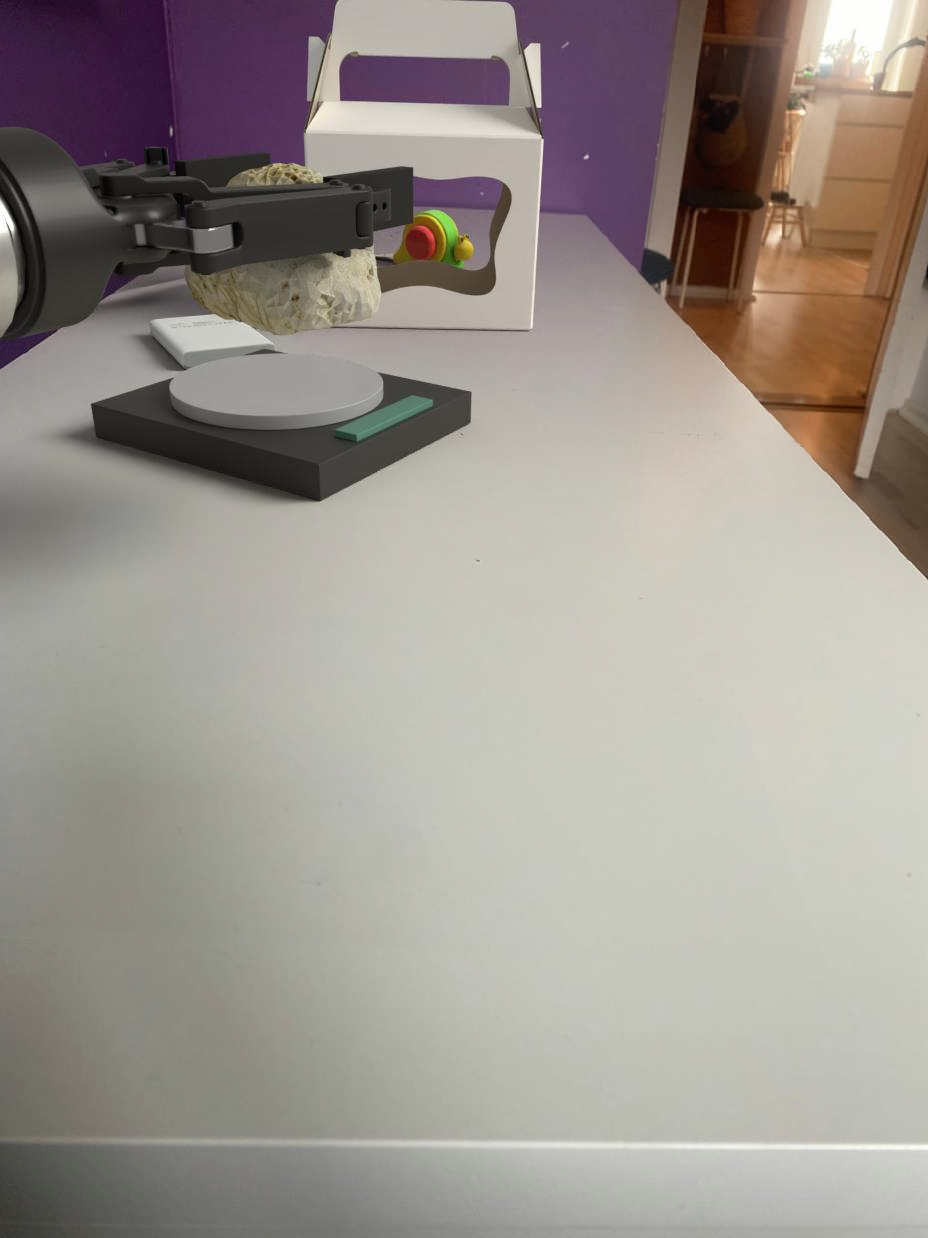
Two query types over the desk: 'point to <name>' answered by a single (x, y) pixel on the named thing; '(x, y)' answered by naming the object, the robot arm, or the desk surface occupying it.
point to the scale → (285, 419)
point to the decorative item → (291, 278)
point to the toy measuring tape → (432, 241)
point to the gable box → (439, 151)
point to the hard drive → (206, 338)
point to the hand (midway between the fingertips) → (334, 186)
